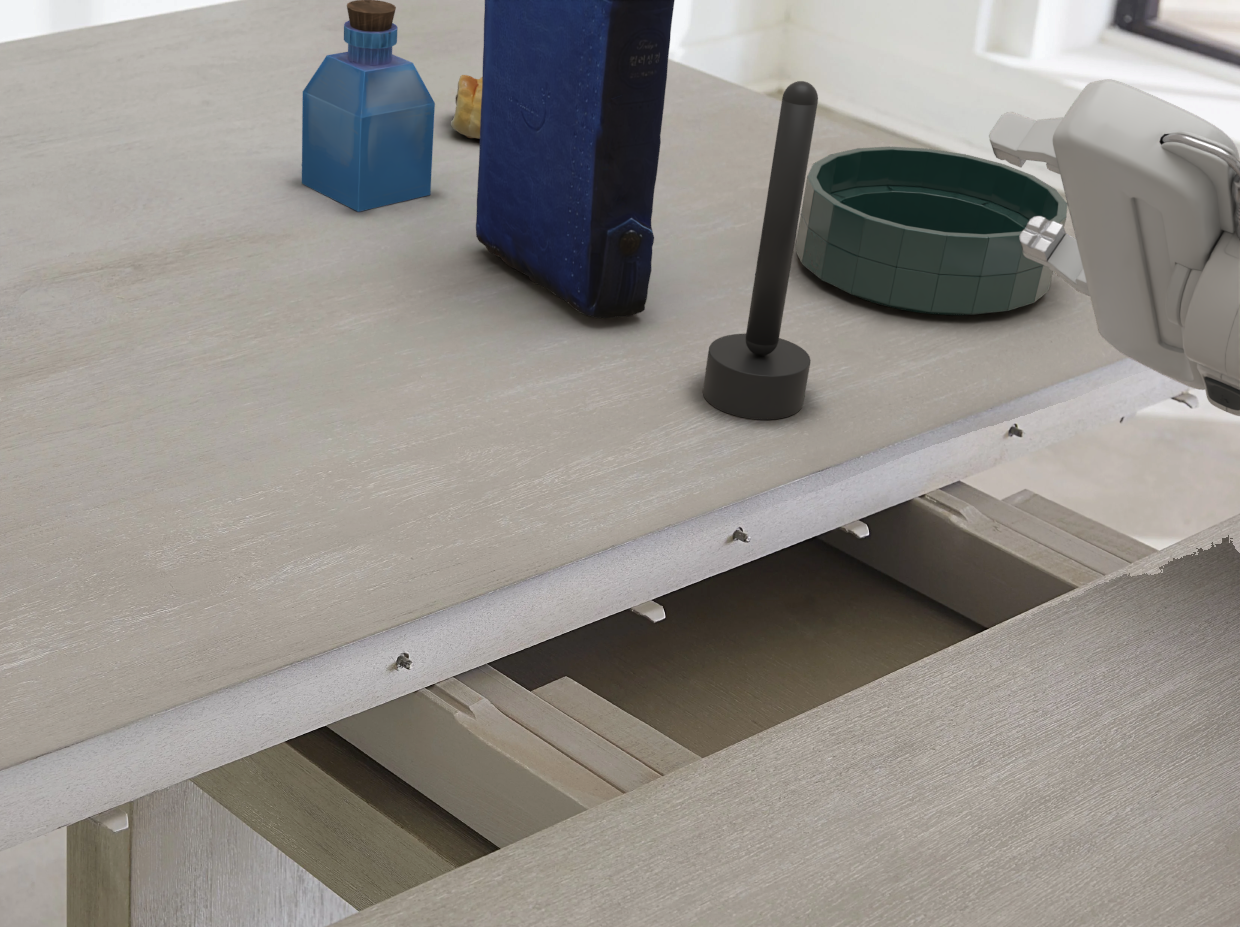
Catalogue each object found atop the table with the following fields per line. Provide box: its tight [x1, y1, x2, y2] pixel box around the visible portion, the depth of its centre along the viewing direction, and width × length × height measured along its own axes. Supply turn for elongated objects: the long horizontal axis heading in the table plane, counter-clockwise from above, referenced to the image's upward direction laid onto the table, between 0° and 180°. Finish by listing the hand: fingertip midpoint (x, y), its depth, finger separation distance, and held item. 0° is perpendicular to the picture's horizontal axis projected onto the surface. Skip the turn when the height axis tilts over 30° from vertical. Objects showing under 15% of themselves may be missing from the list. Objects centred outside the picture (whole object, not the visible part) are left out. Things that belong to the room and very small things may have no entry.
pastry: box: [450, 74, 483, 140], centre depth 139 cm, size 9×7×4 cm
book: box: [475, 0, 676, 319], centre depth 111 cm, size 14×5×20 cm, turn 32°
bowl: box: [794, 146, 1068, 316], centre depth 121 cm, size 16×16×6 cm
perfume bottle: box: [301, 0, 436, 213], centre depth 125 cm, size 6×6×12 cm
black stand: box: [702, 80, 819, 421], centre depth 101 cm, size 6×6×17 cm
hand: (1012, 185), depth 96 cm, fingers open, 8 cm apart
